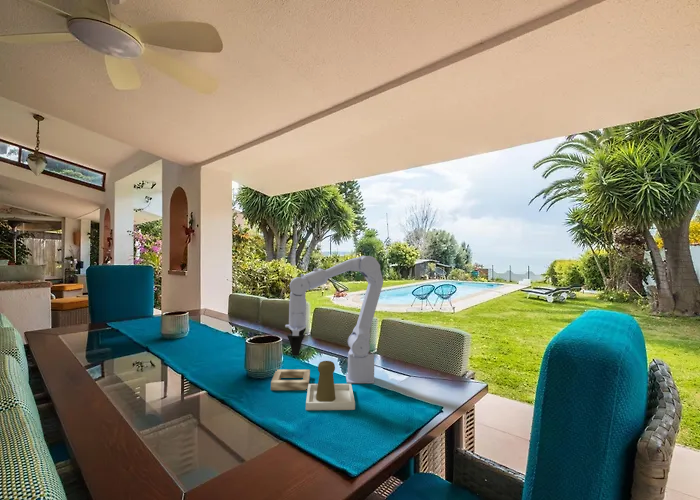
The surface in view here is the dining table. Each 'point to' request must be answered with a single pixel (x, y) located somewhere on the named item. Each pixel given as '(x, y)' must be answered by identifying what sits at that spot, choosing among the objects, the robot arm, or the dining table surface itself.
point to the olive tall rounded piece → (326, 382)
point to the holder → (290, 384)
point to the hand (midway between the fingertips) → (296, 351)
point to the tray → (340, 403)
